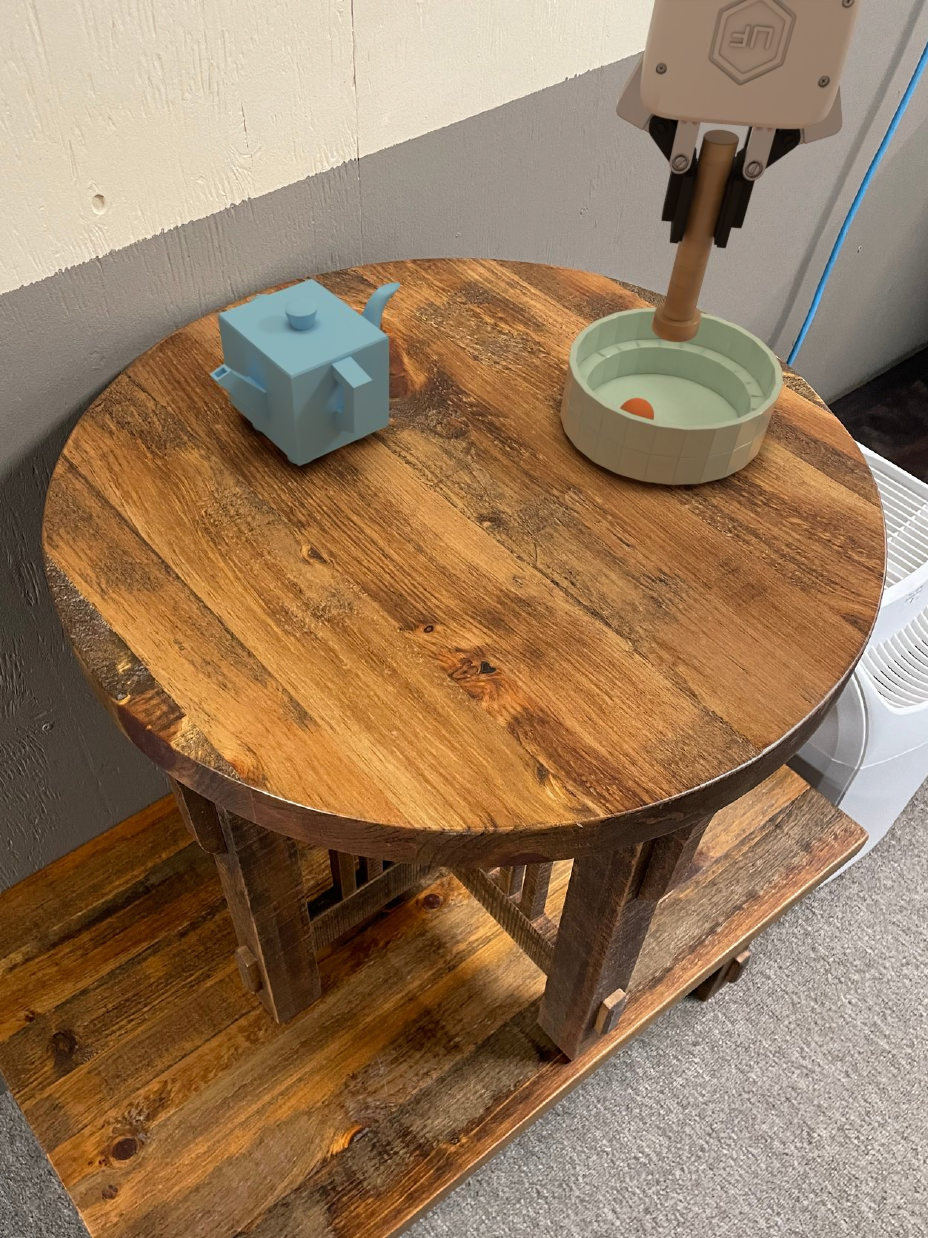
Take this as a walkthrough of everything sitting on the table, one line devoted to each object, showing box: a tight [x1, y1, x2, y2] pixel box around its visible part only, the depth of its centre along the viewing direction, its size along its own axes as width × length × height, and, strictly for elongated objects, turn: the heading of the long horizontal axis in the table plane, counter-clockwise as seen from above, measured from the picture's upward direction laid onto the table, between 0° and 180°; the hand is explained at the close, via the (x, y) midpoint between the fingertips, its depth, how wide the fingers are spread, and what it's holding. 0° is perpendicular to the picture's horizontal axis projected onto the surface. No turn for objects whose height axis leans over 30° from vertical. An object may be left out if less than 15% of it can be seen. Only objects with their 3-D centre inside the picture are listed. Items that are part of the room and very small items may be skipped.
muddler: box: [652, 129, 740, 342], centre depth 61 cm, size 3×3×12 cm
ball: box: [620, 398, 654, 420], centre depth 84 cm, size 3×3×3 cm
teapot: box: [209, 278, 401, 467], centre depth 82 cm, size 16×18×11 cm
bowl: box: [559, 307, 784, 486], centre depth 84 cm, size 17×17×6 cm
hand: (698, 232), depth 61 cm, fingers closed on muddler, 2 cm apart
